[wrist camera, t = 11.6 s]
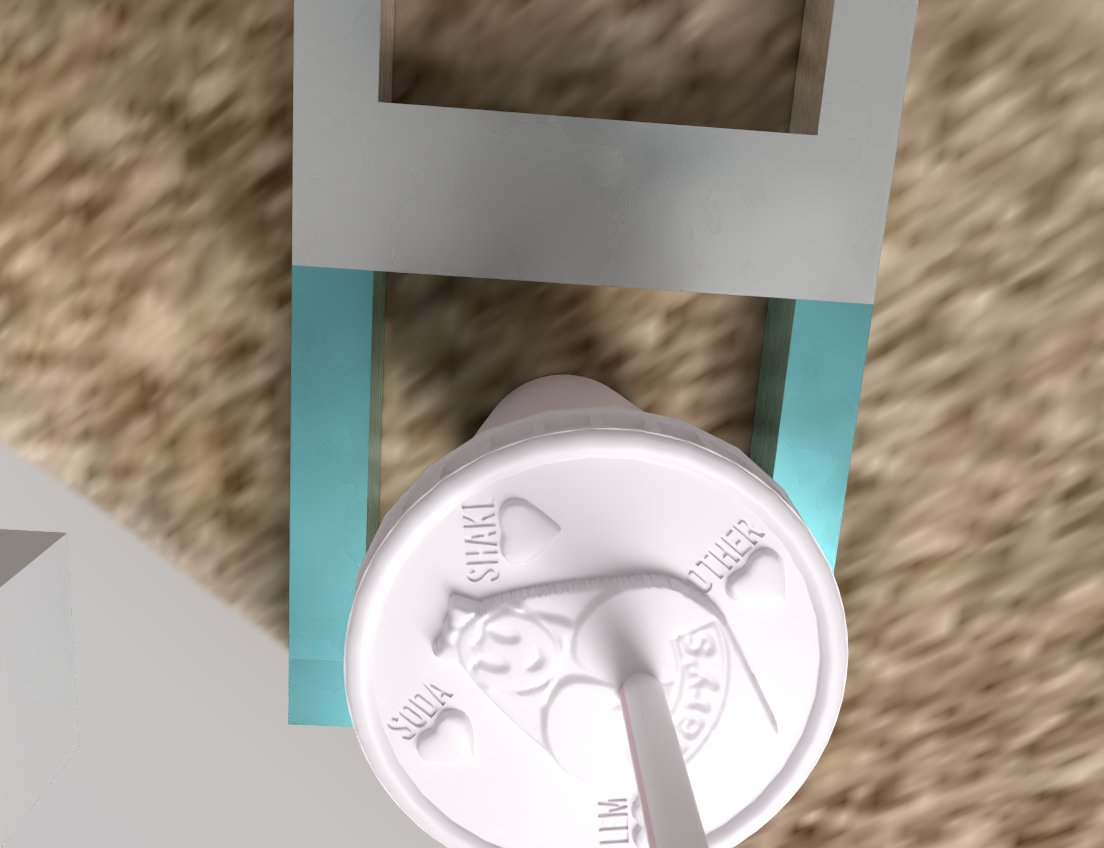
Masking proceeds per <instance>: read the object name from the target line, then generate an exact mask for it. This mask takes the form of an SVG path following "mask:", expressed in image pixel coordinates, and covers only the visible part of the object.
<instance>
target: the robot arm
mask: <svg viewBox="0 0 1104 848" xmlns="http://www.w3.org/2000/svg"><path fill="white" fill-rule="evenodd" d="M69 576H70V575H69V558H68V540H67V533H59V532H58V533H57V532H41V531H23V530H6V529H0V848H2V847H3V846H4V844H5V843H6V842H7V840H8V839H9V838H10V836H11V835H12V834H13V833H14V831H15V830H16V829H17V827H18V826H19V825H20V823H21V822H22V821H23V819H24V818H25V817H26V815H27V814H28V813H29V812H30V810H31V809H32V807H33V806H34V805H35V804H36V802H37V801H38V800H39V798H40V797H41V796H42V794H43V793H44V792H45V790H46V789H47V788H48V786H49V785H50V784H51V783H52V781H53V780H54V779H55V777H56V776H57V775H58V773H59V772H60V771H61V769H62V768H63V767H64V766H65V764H66V763H67V762H68V760H69V759H70V758H71V756H72V755H73V754H74V752H75V751H76V750H77V748H78V747H79V734H78V718H77V717H78V716H77V700H76V681H75V663H74V646H73V629H72V610H71V593H70V577H69Z"/></svg>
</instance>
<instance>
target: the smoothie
mask: <svg viewBox="0 0 1104 848" xmlns="http://www.w3.org/2000/svg"><path fill="white" fill-rule="evenodd" d="M847 665H848V634H847V626H846V619H845V612H844V608H843V604H842V600H841V596H840V592H839V588H838V586H837V583H836V580H835V578H834V575H833V572H832V570H831V567H830V565H829V563H828V561H827V559H826V557H825V555H824V553H823V551H822V549H821V547H820V545H819V544H818V542H817V541H816V539H815V538H814V536H813V535H812V533H811V532H810V530H809V528H808V527H807V525H806V524H805V522H804V520H803V519H802V517H801V516H800V514H799V512H798V511H797V509H796V508H795V506H794V504H793V503H792V501H791V500H790V498H789V496H788V495H787V493H786V491H785V490H784V489H783V488H782V487H781V486H780V485H779V484H778V483H776V482H775V481H774V480H773V479H772V478H771V477H770V476H769V475H768V474H766V473H765V472H764V471H763V470H762V469H761V468H760V467H759V466H758V465H756V464H755V463H754V462H753V461H752V460H751V459H750V458H749V457H748V456H746V455H745V454H744V453H743V452H742V451H741V450H740V449H739V448H737V447H735V446H733V445H731V444H729V443H727V442H725V441H723V440H721V439H719V438H717V437H715V436H713V435H711V434H709V433H707V432H705V431H703V430H701V429H699V428H697V427H695V426H693V425H691V424H689V423H687V422H685V421H683V420H681V419H677V418H672V417H667V416H662V415H657V414H652V413H647V412H644V411H642V410H641V409H640V408H638V407H637V406H635V405H634V404H632V403H631V402H630V401H628V400H627V399H625V398H624V397H622V396H621V395H620V394H618V393H617V392H615V391H614V390H612V389H611V388H609V387H608V386H606V385H604V384H602V383H600V382H598V381H595V380H593V379H590V378H586V377H582V376H577V375H550V376H545V377H541V378H538V379H534V380H532V381H529V382H527V383H525V384H523V385H521V386H519V387H518V388H516V389H515V390H513V391H512V392H510V393H509V394H508V395H507V396H506V397H504V398H503V399H502V400H501V401H500V402H499V404H498V405H497V406H496V407H495V408H494V410H493V411H492V412H491V414H490V415H489V416H488V418H487V419H486V421H485V422H484V423H483V425H482V426H481V427H480V429H479V430H478V431H477V433H476V434H475V436H474V437H473V438H472V439H471V440H469V441H467V442H466V443H464V444H463V445H461V446H460V447H458V448H457V449H455V450H453V451H452V452H450V453H449V454H447V455H446V456H444V457H443V458H441V459H439V460H438V461H436V462H435V463H433V464H432V465H430V466H429V467H428V468H427V469H426V470H425V471H424V472H423V473H422V474H421V476H420V477H419V478H418V479H417V480H416V481H415V482H414V483H413V484H412V485H411V487H410V488H409V489H408V490H407V491H406V492H405V493H404V494H403V495H402V497H401V498H400V499H399V500H398V501H397V502H396V503H395V504H394V505H393V507H392V508H391V509H390V510H389V511H388V512H387V513H386V514H385V516H384V518H383V521H382V523H381V525H380V527H379V529H378V531H377V533H376V535H375V537H374V539H373V541H372V543H371V545H370V547H369V549H368V551H367V553H366V555H365V557H364V559H363V561H362V563H361V565H360V567H359V569H358V574H357V579H356V585H355V591H354V596H353V602H352V608H351V613H350V616H349V620H348V626H347V632H346V639H345V649H344V679H345V691H346V697H347V703H348V709H349V713H350V717H351V720H352V724H353V727H354V731H355V734H356V736H357V739H358V741H359V744H360V746H361V749H362V751H363V753H364V755H365V757H366V759H367V761H368V763H369V765H370V767H371V769H372V770H373V772H374V774H375V775H376V777H377V778H378V780H379V781H380V783H381V784H382V786H383V787H384V788H385V790H386V792H387V793H388V794H389V795H390V797H392V799H393V800H394V801H395V802H396V804H397V805H398V806H399V807H400V809H402V810H403V812H405V813H406V814H407V815H408V816H409V817H410V818H411V819H412V820H413V821H414V822H415V823H416V824H417V825H418V826H419V827H420V828H422V829H423V830H424V831H425V832H426V833H428V834H429V835H430V836H432V837H433V838H434V839H435V840H437V841H438V842H440V843H441V844H443V845H445V846H446V847H447V848H732V847H734V846H736V845H737V844H739V843H740V842H742V841H743V840H745V839H746V838H747V837H749V836H750V835H752V834H753V833H754V832H756V831H757V830H758V829H759V828H761V827H762V826H763V825H764V824H765V823H766V822H768V821H769V820H770V819H771V818H772V817H773V816H775V815H776V814H777V813H778V811H779V810H780V809H781V808H782V807H783V806H784V805H785V804H786V803H787V802H788V801H789V800H790V799H791V798H792V797H793V795H794V794H795V793H796V792H797V790H798V789H799V788H800V787H801V785H802V784H803V783H804V782H805V780H806V779H807V777H808V776H809V774H810V773H811V771H812V770H813V768H814V767H815V765H816V764H817V762H818V760H819V758H820V756H821V754H822V752H823V751H824V749H825V747H826V745H827V743H828V741H829V738H830V736H831V733H832V731H833V728H834V726H835V723H836V721H837V717H838V714H839V710H840V707H841V704H842V700H843V695H844V689H845V684H846V678H847Z"/></svg>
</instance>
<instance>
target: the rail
mask: <svg viewBox="0 0 1104 848" xmlns="http://www.w3.org/2000/svg"><path fill="white" fill-rule="evenodd" d="M918 1H919V0H805V8H804V16H803V24H802V32H801V40H800V48H799V57H798V65H797V73H796V81H795V89H794V97H793V105H792V114H791V122H790V130H789V133H778V132H765V131H752V130H739V129H726V128H712V127H699V126H686V125H673V124H660V123H647V122H634V121H620V120H607V119H594V118H581V117H568V116H555V115H542V114H528V113H515V112H502V111H489V110H476V109H463V108H449V107H436V106H423V105H410V104H397V103H392V74H393V42H394V9H395V0H294V71H293V199H292V327H291V455H290V583H289V713H288V715H289V718H288V724H296V725H318V726H342V727H353V724H352V720H351V717H350V713H349V709H348V703H347V697H346V691H345V679H344V649H345V639H346V632H347V626H348V620H349V616H350V613H351V608H352V602H353V596H354V591H355V585H356V579H357V574H358V569H359V567H360V565H361V563H362V561H363V559H364V557H365V555H366V553H367V551H368V549H369V547H370V545H371V543H372V541H373V539H374V537H375V535H376V533H377V531H378V529H379V501H380V468H381V435H382V403H383V370H384V337H385V304H386V271H387V272H402V273H417V274H432V275H447V276H461V277H476V278H491V279H506V280H521V281H536V282H551V283H565V284H580V285H595V286H610V287H625V288H640V289H655V290H670V291H684V292H699V293H714V294H729V295H744V296H759V297H769V301H768V309H767V317H766V325H765V333H764V341H763V350H762V358H761V366H760V374H759V382H758V390H757V398H756V407H755V415H754V423H753V431H752V439H751V447H750V455H749V458H750V459H751V460H752V461H753V462H754V463H755V464H756V465H758V466H759V467H760V468H761V469H762V470H763V471H764V472H765V473H766V474H768V475H769V476H770V477H771V478H772V479H773V480H774V481H775V482H776V483H778V484H779V485H780V486H781V487H782V488H783V489H784V490H785V491H786V493H787V495H788V496H789V498H790V500H791V501H792V503H793V504H794V506H795V508H796V509H797V511H798V512H799V514H800V516H801V517H802V519H803V520H804V522H805V524H806V525H807V527H808V528H809V530H810V532H811V533H812V535H813V536H814V538H815V539H816V541H817V542H818V544H819V545H820V547H821V549H822V551H823V553H824V555H825V557H826V559H827V561H828V563H829V565H830V567H831V570H832V572H833V574H834V567H835V560H836V553H837V547H838V540H839V533H840V526H841V520H842V513H843V506H844V499H845V493H846V486H847V479H848V472H849V466H850V459H851V452H852V446H853V439H854V432H855V425H856V419H857V412H858V405H859V398H860V392H861V385H862V378H863V371H864V365H865V358H866V351H867V344H868V338H869V331H870V324H871V317H872V311H873V304H874V297H875V290H876V284H877V277H878V270H879V263H880V257H881V250H882V243H883V237H884V230H885V223H886V216H887V210H888V203H889V196H890V189H891V183H892V176H893V169H894V162H895V156H896V149H897V142H898V135H899V129H900V122H901V115H902V108H903V102H904V95H905V88H906V81H907V75H908V68H909V61H910V54H911V48H912V41H913V34H914V28H915V21H916V14H917V7H918Z"/></svg>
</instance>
